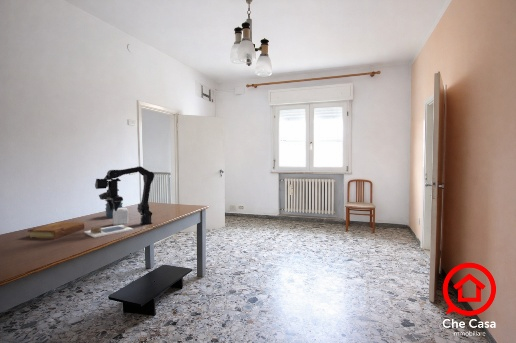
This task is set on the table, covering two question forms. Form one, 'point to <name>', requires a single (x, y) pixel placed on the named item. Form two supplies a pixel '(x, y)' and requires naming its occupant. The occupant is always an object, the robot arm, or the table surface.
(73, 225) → the diary
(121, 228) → the blueprint board
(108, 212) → the canister
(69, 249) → the table surface
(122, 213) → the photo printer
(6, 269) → the table surface
